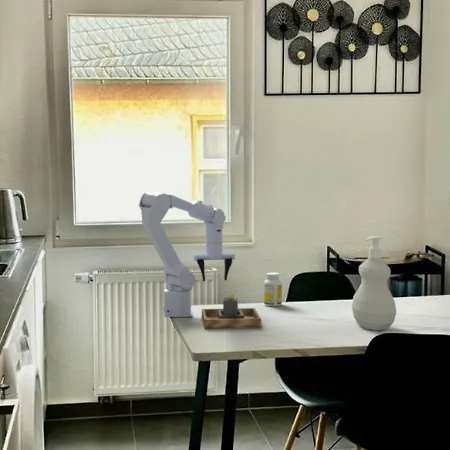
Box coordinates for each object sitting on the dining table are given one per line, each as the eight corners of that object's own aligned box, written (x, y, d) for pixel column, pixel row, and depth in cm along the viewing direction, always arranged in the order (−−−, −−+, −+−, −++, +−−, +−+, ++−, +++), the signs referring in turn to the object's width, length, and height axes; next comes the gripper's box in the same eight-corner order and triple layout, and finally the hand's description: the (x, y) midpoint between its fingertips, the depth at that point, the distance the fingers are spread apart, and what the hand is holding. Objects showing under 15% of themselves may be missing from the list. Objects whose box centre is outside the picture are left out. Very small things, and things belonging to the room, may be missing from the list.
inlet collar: (219, 323, 255) (219, 315, 254) (217, 317, 263) (217, 310, 262) (244, 322, 255) (244, 315, 255) (241, 317, 263) (241, 310, 263)
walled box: (204, 328, 250) (204, 319, 250) (201, 317, 266) (201, 308, 266) (260, 328, 252) (261, 318, 252) (254, 316, 268) (254, 308, 267)
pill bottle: (281, 303, 290) (282, 272, 289) (281, 307, 284) (281, 275, 283) (264, 302, 291) (264, 271, 290) (263, 306, 284) (263, 274, 283)
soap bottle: (342, 324, 257) (344, 234, 254) (369, 320, 263) (371, 232, 260) (376, 335, 243) (379, 240, 240) (405, 331, 249) (407, 238, 246)
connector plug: (223, 321, 257) (223, 295, 256) (224, 318, 262) (224, 293, 261) (237, 321, 257) (237, 296, 256) (237, 318, 261) (238, 293, 260)
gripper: (233, 239, 282) (234, 277, 283) (193, 240, 280) (193, 278, 282) (235, 242, 275) (236, 281, 276) (194, 243, 273) (194, 282, 275)
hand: (214, 280), depth 279 cm, fingers open, 7 cm apart
